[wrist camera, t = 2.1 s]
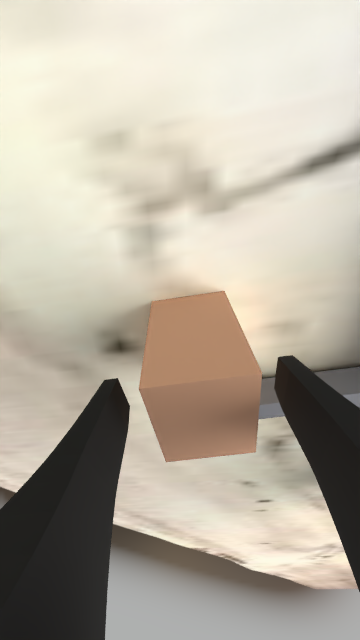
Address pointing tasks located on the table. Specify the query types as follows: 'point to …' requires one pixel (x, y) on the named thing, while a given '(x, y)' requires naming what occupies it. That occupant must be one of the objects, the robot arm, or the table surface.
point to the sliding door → (348, 382)
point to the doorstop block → (200, 379)
